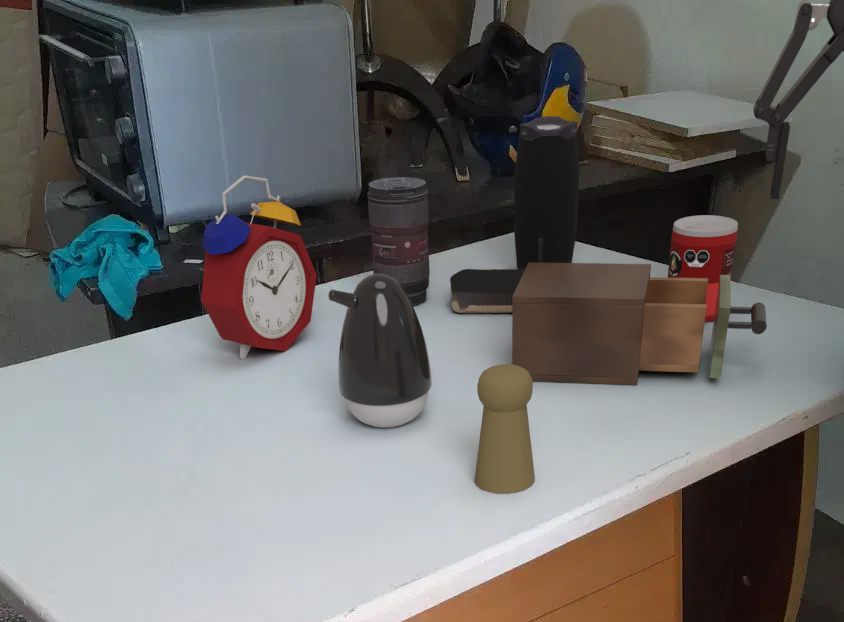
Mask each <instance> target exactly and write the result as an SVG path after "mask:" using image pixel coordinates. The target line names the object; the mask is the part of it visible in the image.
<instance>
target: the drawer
mask: <svg viewBox="0 0 844 622" xmlns="http://www.w3.org/2000/svg"><path fill="white" fill-rule="evenodd" d="M731 278H732V275H731V276H730V275H720V279H719V286H718V293H717V301H716V308H715V316H714V321H713V324H712V331H711V338H710V353H709V354H710V355H709V357H710V358H709V379H721V376H722V370H723V362H724V355H725V349H726V340H727V335H728V329H736V330H737V329H738V330H751V331H752V333H753V334H755V335H762V334H763V333H765V332H766V330H767V313H766V312H767V311H766V305H765V304H764V303H763V302H761V301H760V302H759V301H758V302H755V303H753V304H752V306H731V305H732V304H731V302H732V301H731V299H732V298H731V295H732V293H731V291H732V290H731V288H732V286H731V285H732V283H731V280H732V279H731ZM707 285H708V278H668V277H655V276H653V277H651V276H650V277H649V283H648V288H647V293H646V299H645V304H644V316H643V327H642V338H641V349H640V360H639V372H640V371H643V372H674V373H699V370H700V369H699V368H700V361H701V354H702V346H703V339H704V330H705V323H706V322H705V316H706V309H707V304H705V301H706V293H707ZM733 314H735V315H750V321H729V320H730V315H733Z"/></svg>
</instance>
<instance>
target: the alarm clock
mask: <svg viewBox="0 0 844 622" xmlns="http://www.w3.org/2000/svg"><path fill="white" fill-rule="evenodd" d="M243 181H251V182H259V183H265V187H266V191H267V197H268V199H269V200H272V201H264V202H258V203H257V204H256V203H255V202H252V203H251V204H250V206H251V208H252V209H253V210H252V211H251V212H250V213H249V215H250V216H252V217H251V220H250V222H245V220H243V219H241V218H240V217H238V216H236V215H235V214H234V213H229V214H227V213H228V208H227V199H226V196H227V195H228V194H229V193H231V192H232V191H233V190H234V189H235V188H236V187H237V186H239V185H240V184H241V183H242V182H243ZM221 194H222V203H223V212H222V213H221V215H215V217H214V219H213V220H211V221H210V222H209V223H207V225H206V227H205V229H204V232H203V237H202V249H203V250H204V251H205V256H204V257H205V258H204V268H201V267H199V270H201V271H203V277H202V279H203V280H202V287H201V288H202V291H201V298H200V299H201V301H200V302H201V304H202V305H203V307H204V309H205V311H206V313H207V315H208V316H209V318H210V320H211V322H212V324H213V326H214V327H215V329H216V332H217V333H218V335H219V337H220V339H221V340H225V341H228V342H233V343H237V344H239V359H240V360H243V361H244V360H245V359H246V358H247V356H248V353H249V352H250V350H251V348H252V347H253V348H260V349H267V350H273V351H274V350H275V351H281V352H287V350H288V349H289V348H290V347H291V346H292V345H293V343H294V342H295V341H296V340H297V338H298V337H300V336H301V334H302V333H303V331H304V330H305V329H306V328H307V327H308V326H309V324H310V323H311V321H312V315H313V306H314V298H315V292H316V284H317V277H318V274H317V271H316V269H315V266H314V265H313V262H312V260H311V257H310V255H309V253H308V250H307V248H306V245H305V243H304V240H303V238H302V236H301V234H298V233H295V232H291V231H288V230H283V229H280V228H277V223H281V224H286V225H291V226H302V224H301V221H300V220H299V219H300V218H299V217H298V214H297V211H296V210H295V209H293V208H292V207H289V206H287V205H286V204H284V203H282V201H280V196H281V195H276V197H275V196H273V195H271V190H270V185H269V180H268V178H265V177H259V176H251V175H245V174H244V175H242V176H241V177H240V178H238V179H237V180H236V181H235V182H234V183H232V184H231V185H230V186H229V187H228V188H226V189H225V190H224V191H223V192H222V193H221ZM254 217H255V218H259V219H263V220H267V221H272V222H273V226H269V225H263V224H257V223H253V220H254Z"/></svg>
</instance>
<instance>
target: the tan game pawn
mask: <svg viewBox="0 0 844 622" xmlns="http://www.w3.org/2000/svg"><path fill="white" fill-rule="evenodd" d="M476 387H477V391H476V392H477V397H478V400H479V401H480V403H481V404H482V405H483V407H482V415H481V417H482V418H481V424H480V432H479V438H478V439H479V440H478V449H477V456H476V464H475V472H474V480H473V482H474V483H475V486H476V487H478V488H479V489H481V490H483V491H486V492H488V493H493V494H513V493H514V494H515V493H520V492H522V491H526V490H527V489H529V488H531V487H532V486H533V484H534V483H535V481H536V480H535V479H536V476H535V467H534V458H533V457H534V456H533V449H532V441H531V440H532V439H531V431H530V422H529V413H528V403H530V400H531V399H532V396H533V389H534V381H532V377H531V376H530V374H529V372H528V371H527V370H526V369H524V368H522V367H520V366H517V365H512V364H510V363H509V364H507V363H506V364H505V363H504V364H497V365H496V364H495V365H493V366H490V367H488V368H486V369H484V370H483V371H482V372H481V373H480V375H479V377H478V381H477V386H476Z"/></svg>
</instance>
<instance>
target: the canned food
mask: <svg viewBox="0 0 844 622" xmlns="http://www.w3.org/2000/svg"><path fill="white" fill-rule="evenodd" d="M738 230H739V222H738V221H737V220H735V219H734V218H731V217H727V216H722V215H712V214H711V215H710V214H709V215H708V214H705V215H704V214H702V215H701V214H700V215H691V216H685V217H681V218H679V219H677V220H675V221H674V222H673V227H672V231H671V239H670V249H669V257H668V258H669V261H668V269H667V278H708V285H707V293H706V301H705V304H707V309H706V316H705V323H709V322H714V316H715V308H716V301H717V293H718V286H719V279H720V275H730V276H731V277H732V273H733V267H734V260H735V253H736V246H737V239H738V232H739V231H738Z"/></svg>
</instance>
